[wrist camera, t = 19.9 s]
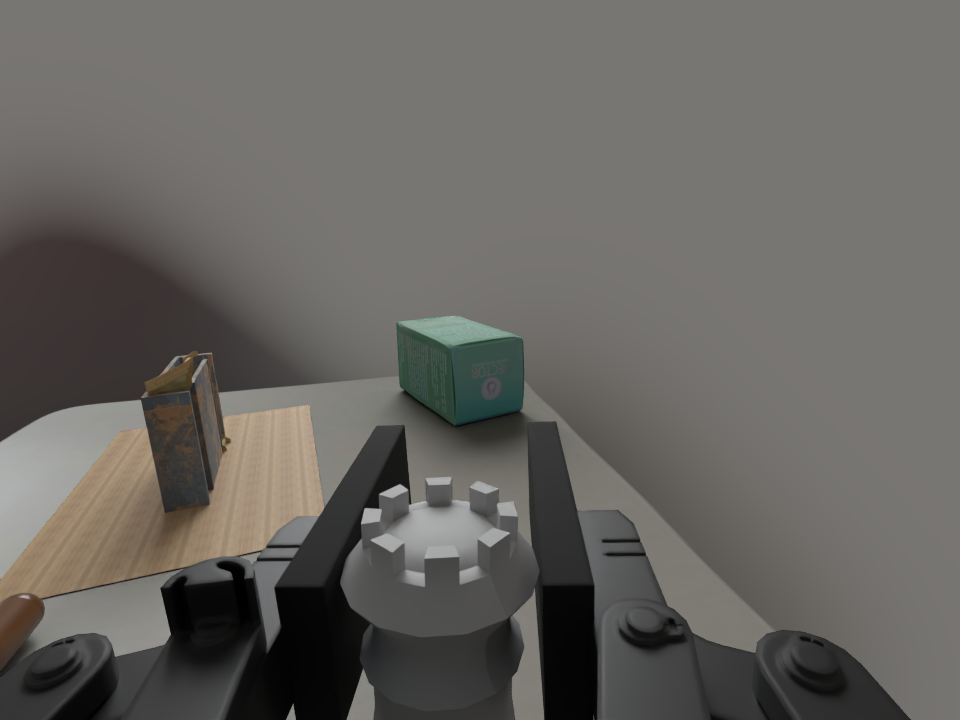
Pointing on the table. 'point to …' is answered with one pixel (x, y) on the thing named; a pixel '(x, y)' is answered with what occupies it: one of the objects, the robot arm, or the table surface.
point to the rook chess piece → (441, 602)
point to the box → (461, 368)
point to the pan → (18, 622)
